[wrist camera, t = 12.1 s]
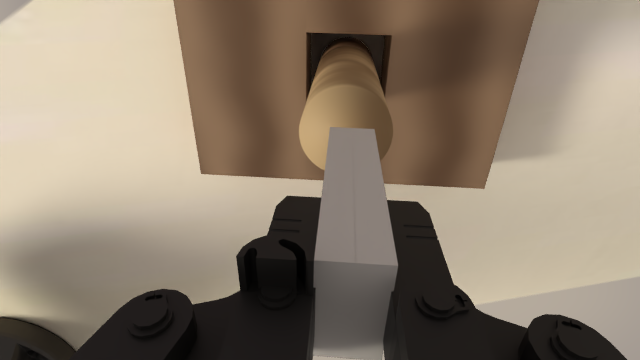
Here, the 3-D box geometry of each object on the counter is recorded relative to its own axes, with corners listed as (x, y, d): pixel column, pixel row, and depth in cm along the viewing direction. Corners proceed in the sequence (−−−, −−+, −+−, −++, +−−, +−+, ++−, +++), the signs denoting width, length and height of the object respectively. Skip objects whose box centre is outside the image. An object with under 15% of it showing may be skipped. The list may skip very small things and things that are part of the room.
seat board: (217, 152, 32) (201, 173, 28) (188, -65, 24) (162, -73, 20) (468, 164, 31) (484, 188, 27) (525, -58, 23) (557, -64, 20)
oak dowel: (319, 89, 29) (298, 172, 16) (320, 35, 27) (298, 84, 14) (369, 91, 28) (387, 177, 16) (374, 37, 26) (399, 89, 14)
